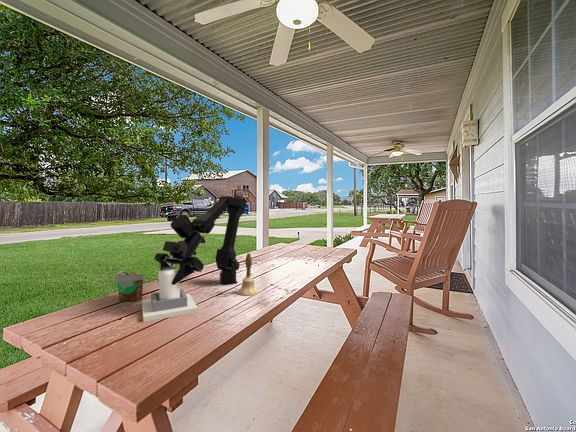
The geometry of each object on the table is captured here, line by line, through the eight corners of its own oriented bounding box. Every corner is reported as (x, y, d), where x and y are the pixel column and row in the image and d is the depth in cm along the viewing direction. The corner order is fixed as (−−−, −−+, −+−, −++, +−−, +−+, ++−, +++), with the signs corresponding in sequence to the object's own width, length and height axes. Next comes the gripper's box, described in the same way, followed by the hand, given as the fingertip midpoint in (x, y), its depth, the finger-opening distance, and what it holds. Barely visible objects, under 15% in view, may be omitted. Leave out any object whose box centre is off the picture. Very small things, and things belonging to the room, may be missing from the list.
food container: (107, 299, 103) (107, 273, 102) (124, 294, 108) (123, 269, 108) (128, 305, 97) (127, 277, 96) (144, 300, 102) (144, 273, 102)
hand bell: (260, 289, 116) (260, 251, 115) (256, 296, 108) (256, 255, 107) (240, 288, 117) (240, 251, 116) (235, 295, 108) (235, 255, 108)
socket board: (189, 297, 106) (189, 285, 105) (197, 312, 92) (197, 298, 92) (142, 304, 98) (141, 292, 98) (143, 322, 84) (143, 307, 84)
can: (168, 307, 90) (166, 270, 90) (155, 305, 93) (153, 270, 93) (184, 301, 96) (182, 267, 96) (171, 300, 99) (169, 266, 99)
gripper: (157, 230, 101) (130, 267, 91) (197, 233, 93) (172, 273, 84) (175, 248, 109) (151, 284, 99) (213, 252, 101) (191, 291, 91)
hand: (165, 283), depth 93 cm, fingers closed on can, 6 cm apart
